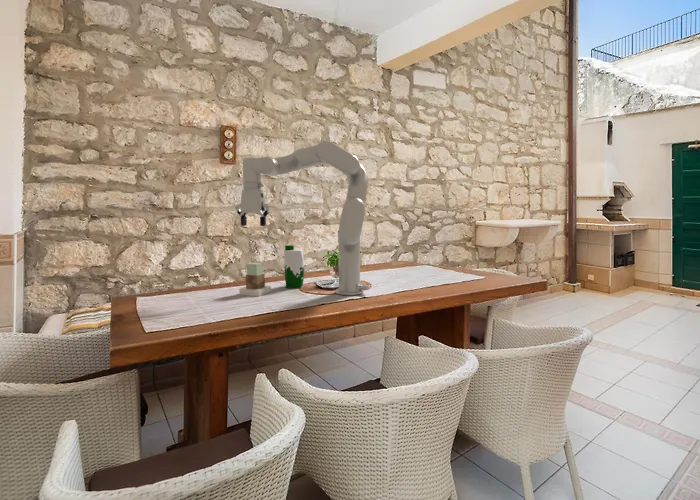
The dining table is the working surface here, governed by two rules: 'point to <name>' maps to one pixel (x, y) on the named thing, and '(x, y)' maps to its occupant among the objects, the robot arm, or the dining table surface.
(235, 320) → the dining table surface
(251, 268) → the sage block
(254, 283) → the walnut block
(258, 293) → the stone base
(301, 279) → the milk carton
